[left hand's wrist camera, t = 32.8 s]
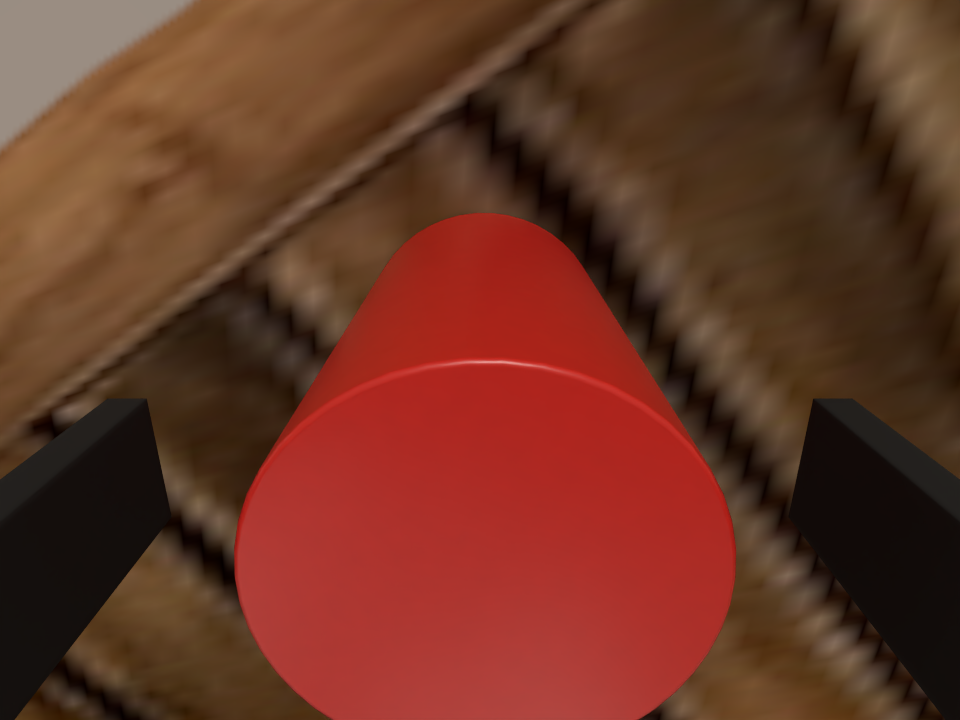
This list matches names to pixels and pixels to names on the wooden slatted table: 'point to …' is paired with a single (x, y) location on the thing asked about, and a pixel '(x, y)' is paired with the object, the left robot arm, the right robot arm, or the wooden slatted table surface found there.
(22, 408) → the wooden slatted table surface
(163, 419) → the wooden slatted table surface
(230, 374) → the wooden slatted table surface
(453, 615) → the canister
